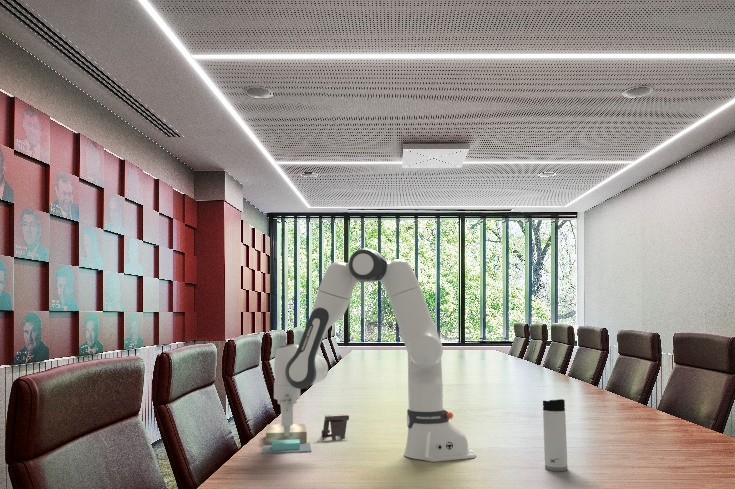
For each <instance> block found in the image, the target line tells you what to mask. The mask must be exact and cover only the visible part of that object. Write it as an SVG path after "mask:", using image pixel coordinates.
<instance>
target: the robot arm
mask: <svg viewBox="0 0 735 489" xmlns="http://www.w3.org/2000/svg"><path fill="white" fill-rule="evenodd" d="M322 277H323V278H321V279H322V280H321V281H320V284H319V287H318V290H317V294H316V297H315V300H314V304H313V308H312V310H311V313H310V315H309V318H308V320H307V323H306V325H305V328H304V331H303V334H302V336H301V339H300V342H299V344H297V343H291V344H285V345H282V346H279V347H277V348H276V351H275V354H274V363H273V366H274V367H273V372H274V377H275V378H274V382H273V399H274V400H276V401H277V405H280V414H281V421H280V422H281V423H280V424H282V426H284V436H289V435H290V426H292V425H293V424H294V405H295V404H297V400H298V399H301V390H303V389H306V388H308V387H310V386H312V385H315V384H317V383H319V382H321V381H323V380H324V379H325V378H326V377H327V375H328V372H329V364H328V362H327V360H326V359H325V358H324V356H322V355H319V354H318V352H319V348H320V347H321V345H322V344H321V343H322V341H323V339H324V336H325V334H326V332H328V330H329V329H330V327H331V326H333V325H335V323H337V322H339V320H341V319H342V318H343V317H344V315H345V314H346V311H347V309H348V307H349V304H350V301H351V299H352V294H353V291H354V289H355V287H356V285H357V284H359V283H375V282H380V283H381V284H382V286H383V287H384V289H385V292H386V295H387V298H388V301H389V303H390V306H391V308H392V311H393V314H394V317H395V320H396V323H397V325H398V328H399V331H400V334H401V337H402V340H403V342H404V343H403V344H404V346H405V349H406V351H407V377H408V378H407V383H408V384H407V385H408V386H407V390H408V392H407V393H408V409H407V412H406V426H407V438H406V444H405V448H404V453H403V455H404V456H405V457H407V458H410V459H414V460H422V461H423V460H424V461H427V462H433V463H434V462H445V461H455V460H466V459H474V458H476V457H477V455H476V454H477V453H476V452H475V450H474V449H472V448H471V447H469V444H468V439H467V436H466V434H465V433H464V432H462V431H461V430H460V429H459V428H458V427H457V426H455V425H454V424H453V423H452V422H450V420H452V419H453V418H454V413H453V412H452V411H447V410H445V409H444V400H443V399H444V398H443V397H444V396H443V395H444V394H443V392H444V391H443V390H444V388H443V372H442V370H443V369H442V367H443V366H442V356H443V352H444V351H443V350H444V347H443V343H442V341H441V338H440V336H439V333H438V330H437V328H436V325H435V323H434V320H433V318H432V315H431V312H430V310H429V307H428V304H427V301H426V299H425V296H424V293H423V290H422V288H421V285H420V283H419V280H418V279H417V278H418V277H417V276H416V274H415V272H414V270H413V268H412V267H411V265H410V264H409V262H408V260H407V261H406V260H404V259H401V258H400V259H393V260H386V258H385V257H384V256H383V254H381V253H380V252H379V251H377V250H375V249H373V248H367V247H363V248H359V249H357V250H355V251H354V252H353V253H352V254H351V255H350V257H349V260H348V262H345V261H335V262H332V263H330V264H329V265H328V267H327V269H326V270H325V272H324V275H323V276H322Z"/></svg>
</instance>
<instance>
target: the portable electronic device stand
mask: <svg viewBox="0 0 735 489" xmlns="http://www.w3.org/2000/svg"><path fill="white" fill-rule="evenodd" d="M349 415H350V414H348V413H347V414H346V413H344V414H329V415H324V421H323V428H322V430H321V437H322V438H323V437H324V438H325V437H331V440H332V441H335V440H337V437H339V438H340V440H345V436H346V431H347V423H348V421H349V420H350V416H349ZM329 428H330V429H329Z"/></svg>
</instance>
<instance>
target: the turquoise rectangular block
mask: <svg viewBox="0 0 735 489" xmlns="http://www.w3.org/2000/svg"><path fill="white" fill-rule="evenodd" d="M294 449H300V440H299V439H296V440H273V443H272V450H294Z"/></svg>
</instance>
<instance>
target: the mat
mask: <svg viewBox="0 0 735 489" xmlns="http://www.w3.org/2000/svg"><path fill="white" fill-rule="evenodd" d="M293 452H301V453H312V447H311V442H307V443H300V449H294V450H272V444H266V443H263V444H262V449H261V454H262V453H275V454H292V453H293ZM293 454H294V453H293Z"/></svg>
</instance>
